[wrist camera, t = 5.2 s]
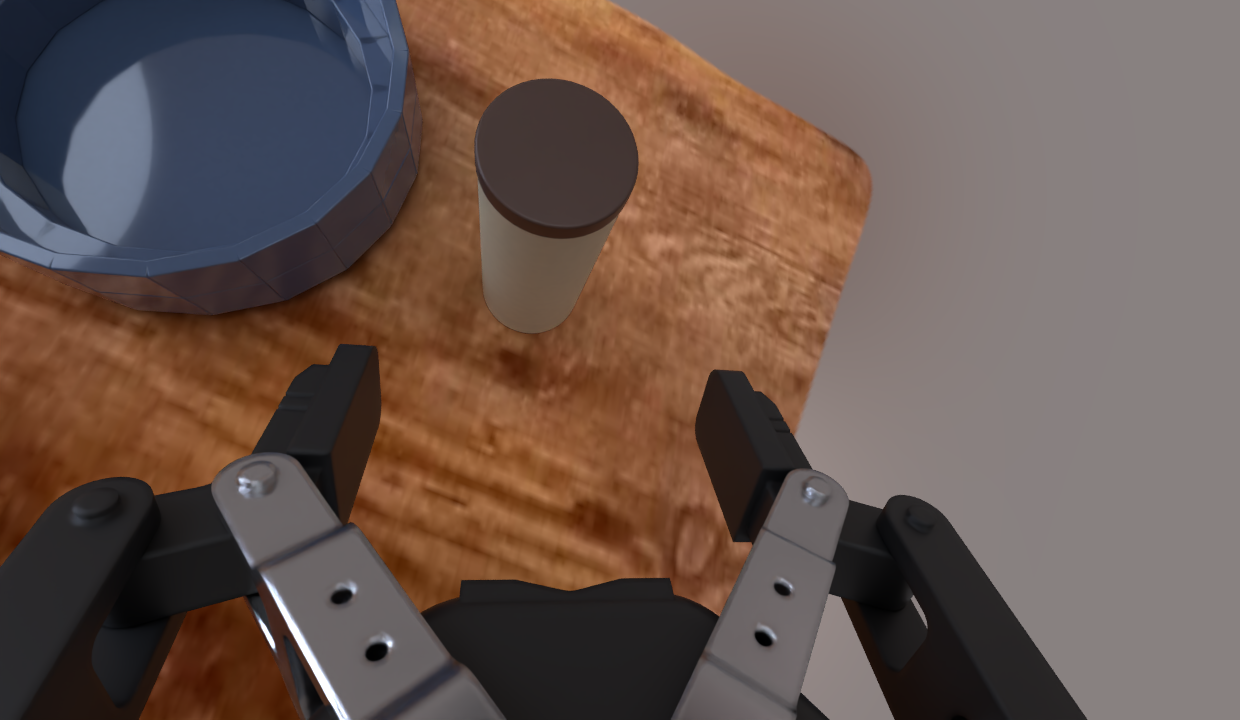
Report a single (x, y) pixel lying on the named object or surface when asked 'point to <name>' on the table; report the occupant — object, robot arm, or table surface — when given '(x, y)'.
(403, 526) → the table surface
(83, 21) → the bowl
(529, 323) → the tube
